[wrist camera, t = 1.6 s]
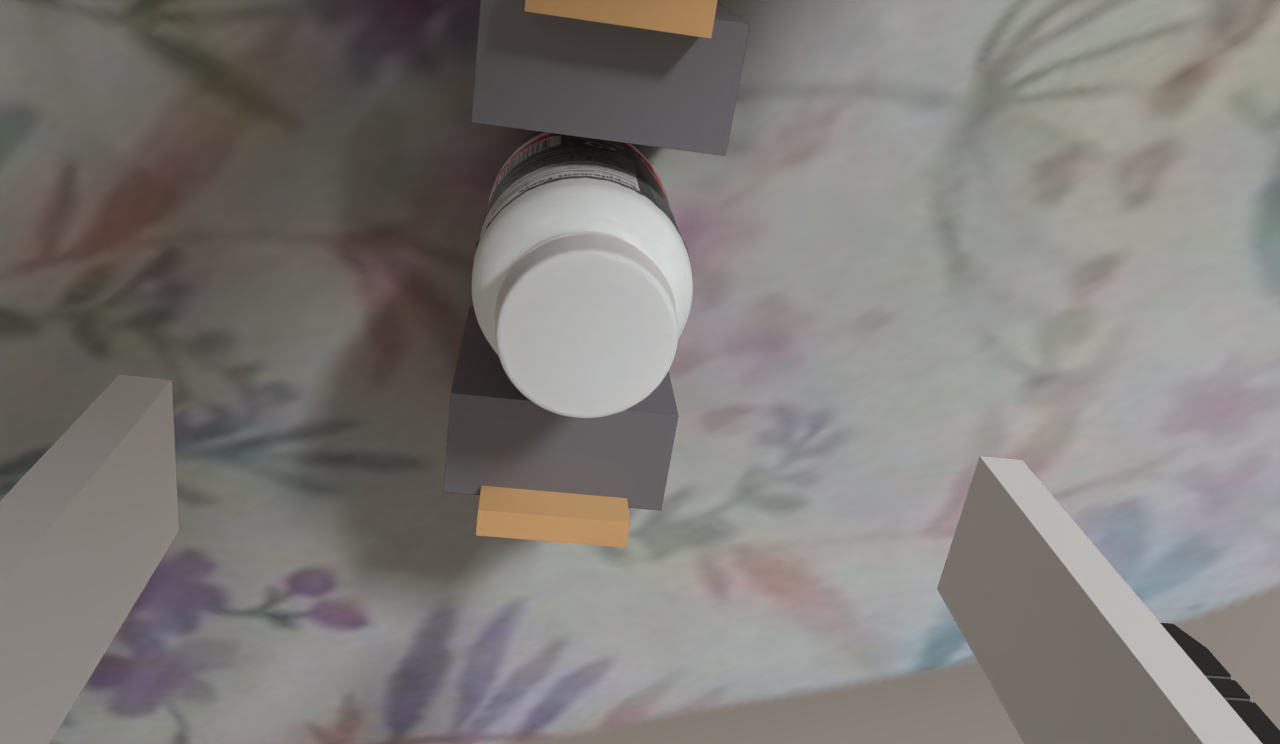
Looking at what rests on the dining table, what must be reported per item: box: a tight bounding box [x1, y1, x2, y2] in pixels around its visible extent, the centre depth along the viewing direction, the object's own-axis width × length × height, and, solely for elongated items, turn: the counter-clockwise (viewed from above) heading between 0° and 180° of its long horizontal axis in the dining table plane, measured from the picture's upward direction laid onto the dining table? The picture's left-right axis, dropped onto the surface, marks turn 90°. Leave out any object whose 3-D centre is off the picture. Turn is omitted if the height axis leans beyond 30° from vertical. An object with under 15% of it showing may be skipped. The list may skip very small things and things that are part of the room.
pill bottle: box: [472, 132, 693, 418], centre depth 26 cm, size 5×5×10 cm
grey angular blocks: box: [443, 0, 750, 548], centre depth 27 cm, size 14×6×7 cm, turn 172°
